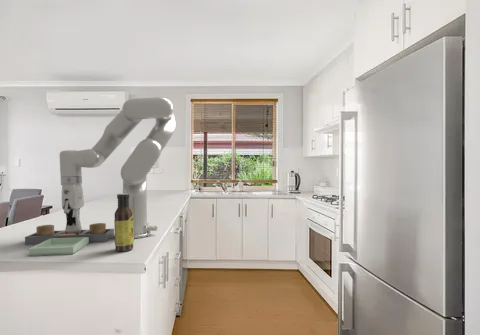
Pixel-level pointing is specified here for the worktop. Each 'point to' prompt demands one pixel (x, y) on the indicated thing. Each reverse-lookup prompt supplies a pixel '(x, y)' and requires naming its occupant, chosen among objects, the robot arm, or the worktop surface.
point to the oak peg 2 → (97, 228)
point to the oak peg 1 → (45, 230)
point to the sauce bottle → (123, 224)
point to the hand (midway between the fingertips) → (73, 225)
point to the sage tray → (59, 246)
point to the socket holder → (70, 236)
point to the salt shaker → (73, 228)
